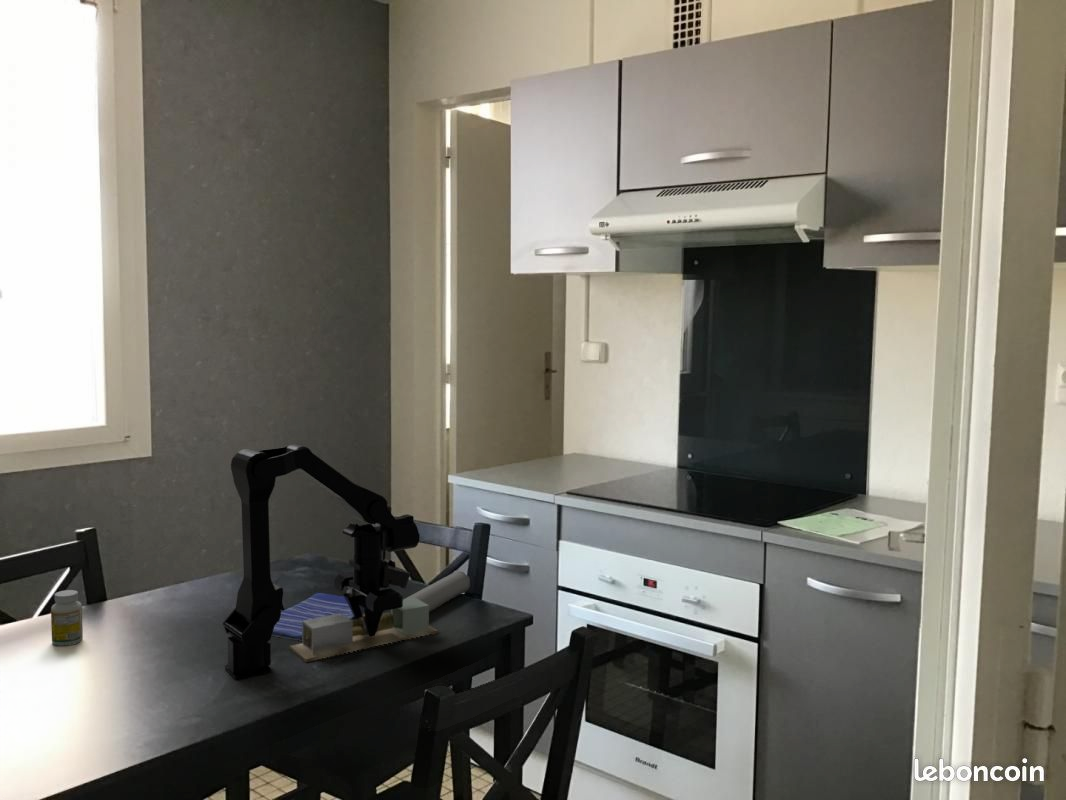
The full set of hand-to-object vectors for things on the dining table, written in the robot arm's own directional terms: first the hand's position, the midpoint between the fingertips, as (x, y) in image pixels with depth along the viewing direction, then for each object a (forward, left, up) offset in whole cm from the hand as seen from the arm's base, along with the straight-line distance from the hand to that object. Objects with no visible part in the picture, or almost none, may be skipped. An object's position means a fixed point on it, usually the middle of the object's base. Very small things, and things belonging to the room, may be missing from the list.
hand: (367, 633), depth 177 cm
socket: (+9, 0, -2) cm, 10 cm away
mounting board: (0, 0, -2) cm, 2 cm away
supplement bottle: (-48, +31, -2) cm, 58 cm away
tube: (+21, +11, -2) cm, 24 cm away
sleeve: (-8, 0, -2) cm, 9 cm away
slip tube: (-3, 0, 0) cm, 3 cm away
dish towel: (-3, +17, -2) cm, 17 cm away
